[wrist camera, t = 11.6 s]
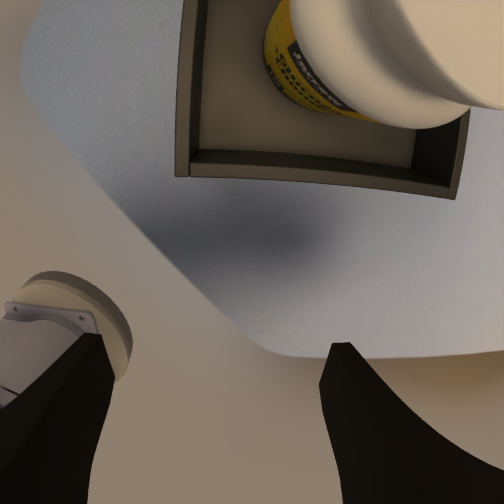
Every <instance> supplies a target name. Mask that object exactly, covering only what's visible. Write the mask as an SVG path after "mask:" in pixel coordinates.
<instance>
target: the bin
mask: <svg viewBox="0 0 504 504" xmlns="http://www.w3.org/2000/svg"><path fill="white" fill-rule="evenodd" d="M280 2H281V0H184V3H183V12H182V21H181V32H180V44H179V57H178V72H177V90H176V114H175V177H189V176H190V177H205V178H238V179H260V180H278V181H293V182H307V183H319V184H331V185H341V186H352V187H361V188H370V189H379V190H387V191H395V192H403V193H410V194H418V195H425V196H431V197H438V198H444V199H450V200H455V199H456V194H457V190H458V185H459V180H460V175H461V170H462V165H463V159H464V154H465V147H466V141H467V134H468V126H469V118H470V108H471V107H470V108H469V109H468V110H467V111H466V112H465V113H464V114H462V115H461V116H459V117H458V118H456V119H455V120H453V121H451V122H449V123H446V124H443V125H440V126H437V127H432V128H426V129H408V128H401V127H395V126H389V125H385V124H380V123H376V122H371V121H366V120H361V119H355V118H349V117H343V116H337V115H331V114H324V113H319V112H315V111H312V110H309V109H307V108H304V107H302V106H300V105H298V104H297V103H295V102H293V101H292V100H291V99H289V98H288V97H287V96H286V95H285V94H283V93H282V91H281V90H280V89H279V88H278V87H277V86H276V84H275V83H274V81H273V80H272V78H271V76H270V75H269V72H268V70H267V67H266V64H265V61H264V56H263V40H264V35H265V32H266V29H267V26H268V24H269V22H270V20H271V18H272V16H273V15H274V13H275V11H276V9H277V7H278V5H279V4H280Z"/></svg>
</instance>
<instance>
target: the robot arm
mask: <svg viewBox="0 0 504 504" xmlns="http://www.w3.org/2000/svg"><path fill="white" fill-rule="evenodd" d="M4 308H5V311H6V314H5V315H4V317H3V318H2V319H1V321H0V504H87V500H88V489H89V481H90V473H91V467H92V462H93V458H94V454H95V451H96V447H97V444H98V441H99V437H100V434H101V431H102V428H103V424H104V421H105V418H106V415H107V411H108V408H109V405H110V401H111V396H112V391H113V385H114V380H115V375H114V372H113V369H112V366H111V364H110V361H109V358H108V354H107V351H106V348H105V345H104V342H103V339H102V335H101V334H99V332H98V328H97V325H96V321H95V317H94V315H93V313H92V312H90V311H85V310H75V309H66V308H57V307H48V306H40V305H32V304H25V303H17V302H10V301H6V302H5V304H4ZM81 315H82V316H83V317H82V316H81ZM319 389H320V397H321V404H322V411H323V415H324V419H325V423H326V426H327V430H328V433H329V437H330V441H331V445H332V448H333V452H334V456H335V459H336V463H337V467H338V472H339V476H340V483H341V491H342V498H343V504H504V470H501V469H499V468H497V467H494V466H492V465H490V464H488V463H486V462H484V461H482V460H480V459H478V458H476V457H474V456H473V455H471V454H469V453H468V452H466V451H464V450H463V449H461V448H459V447H458V446H457V445H455V444H454V443H452V442H450V441H449V440H448V439H446V438H445V437H443V436H442V435H441V434H439V433H438V432H437V431H436V430H434V429H433V428H432V427H431V426H429V425H428V424H427V423H426V422H425V421H423V420H422V419H421V418H420V417H419V416H418V415H417V414H415V413H414V412H413V411H412V410H411V409H410V408H409V407H408V406H407V405H406V404H405V403H404V402H403V401H402V400H401V399H400V398H399V397H398V396H397V395H396V394H395V393H394V392H393V391H392V390H391V389H390V388H389V386H388V385H387V384H386V383H385V382H384V381H383V380H382V379H381V378H380V377H379V375H378V374H377V373H376V372H375V371H374V370H373V368H372V367H371V366H370V365H369V364H368V363H367V362H366V360H365V359H364V358H363V357H362V356H361V354H360V353H359V352H358V351H357V350H356V349H355V348H354V346H353V345H352V344H351V343H350V342H346V343H332V344H331V348H330V351H329V354H328V358H327V361H326V364H325V367H324V370H323V373H322V376H321V379H320V382H319Z"/></svg>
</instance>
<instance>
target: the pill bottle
mask: <svg viewBox="0 0 504 504" xmlns="http://www.w3.org/2000/svg"><path fill="white" fill-rule="evenodd" d="M263 56H264V61H265V64H266V67H267V70H268V72H269V75H270V76H271V78H272V80H273V81H274V83H275V84H276V86H277V87H278V88H279V89H280V90H281V91H282V93H283V94H285V95H286V96H287V97H288V98H289V99H291V100H292V101H293V102H295V103H297V104H298V105H300V106H302V107H304V108H307V109H309V110H312V111H315V112H319V113H324V114H331V115H337V116H343V117H349V118H355V119H361V120H366V121H371V122H376V123H380V124H385V125H389V126H395V127H401V128H408V129H426V128H432V127H437V126H440V125H443V124H446V123H449V122H451V121H453V120H455V119H456V118H458V117H459V116H461V115H462V114H464V113H465V112H466V111H467V110H468V109H469V108H470V107H471V106H475V107H482V108H488V109H495V110H504V0H281V2H280V4H279V5H278V7H277V9H276V11H275V13H274V15H273V16H272V18H271V20H270V22H269V24H268V26H267V29H266V32H265V35H264V40H263Z"/></svg>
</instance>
